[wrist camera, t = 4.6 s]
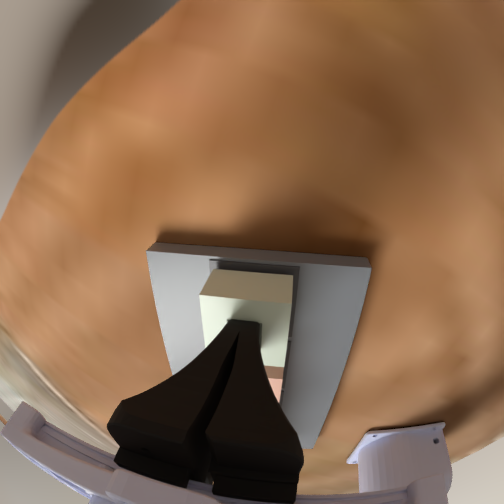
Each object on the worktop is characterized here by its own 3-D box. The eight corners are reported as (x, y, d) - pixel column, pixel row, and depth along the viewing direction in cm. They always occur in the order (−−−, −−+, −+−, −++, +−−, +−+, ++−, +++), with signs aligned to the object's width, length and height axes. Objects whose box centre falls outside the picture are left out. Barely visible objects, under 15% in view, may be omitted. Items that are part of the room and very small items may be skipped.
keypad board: (367, 257, 15) (372, 268, 13) (312, 438, 23) (312, 449, 22) (155, 242, 16) (145, 251, 15) (194, 424, 25) (190, 434, 24)
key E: (293, 275, 14) (291, 305, 12) (286, 336, 16) (284, 368, 13) (213, 268, 14) (198, 295, 12) (217, 329, 16) (206, 359, 14)
